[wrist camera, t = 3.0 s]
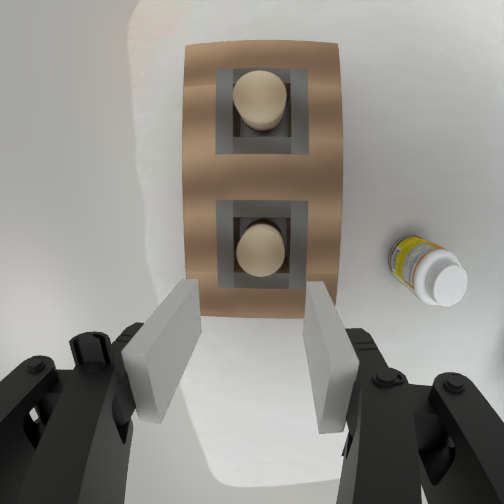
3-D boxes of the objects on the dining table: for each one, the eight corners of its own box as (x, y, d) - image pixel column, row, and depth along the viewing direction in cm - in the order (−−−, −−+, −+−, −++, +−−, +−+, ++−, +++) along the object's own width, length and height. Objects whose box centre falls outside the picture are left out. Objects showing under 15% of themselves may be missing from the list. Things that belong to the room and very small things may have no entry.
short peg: (243, 219, 30) (236, 229, 24) (282, 219, 30) (285, 230, 24) (243, 257, 31) (236, 276, 25) (281, 258, 31) (284, 277, 25)
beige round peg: (240, 92, 25) (232, 71, 19) (283, 92, 25) (286, 70, 19) (240, 132, 26) (232, 119, 20) (283, 132, 26) (287, 119, 20)
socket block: (199, 65, 29) (185, 45, 23) (327, 64, 28) (338, 43, 22) (202, 293, 35) (189, 315, 29) (324, 295, 34) (334, 318, 29)
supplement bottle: (433, 266, 33) (479, 295, 23) (396, 288, 34) (434, 326, 24) (418, 225, 32) (466, 244, 22) (380, 248, 33) (418, 276, 23)
